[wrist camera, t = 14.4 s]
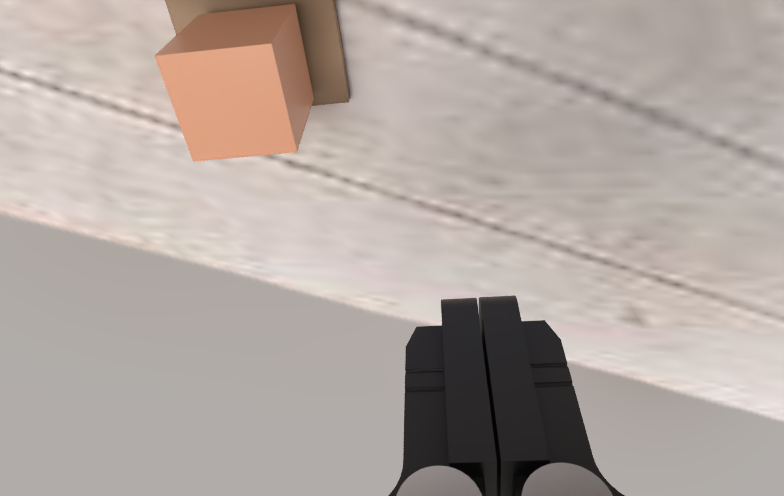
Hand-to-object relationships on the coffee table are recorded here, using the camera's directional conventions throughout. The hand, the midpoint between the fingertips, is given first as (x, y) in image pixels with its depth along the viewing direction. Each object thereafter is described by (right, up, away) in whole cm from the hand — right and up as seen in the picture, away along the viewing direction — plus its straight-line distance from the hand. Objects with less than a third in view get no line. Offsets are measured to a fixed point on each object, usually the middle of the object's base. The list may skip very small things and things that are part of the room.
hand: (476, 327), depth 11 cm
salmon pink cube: (-9, +12, +19) cm, 25 cm away
